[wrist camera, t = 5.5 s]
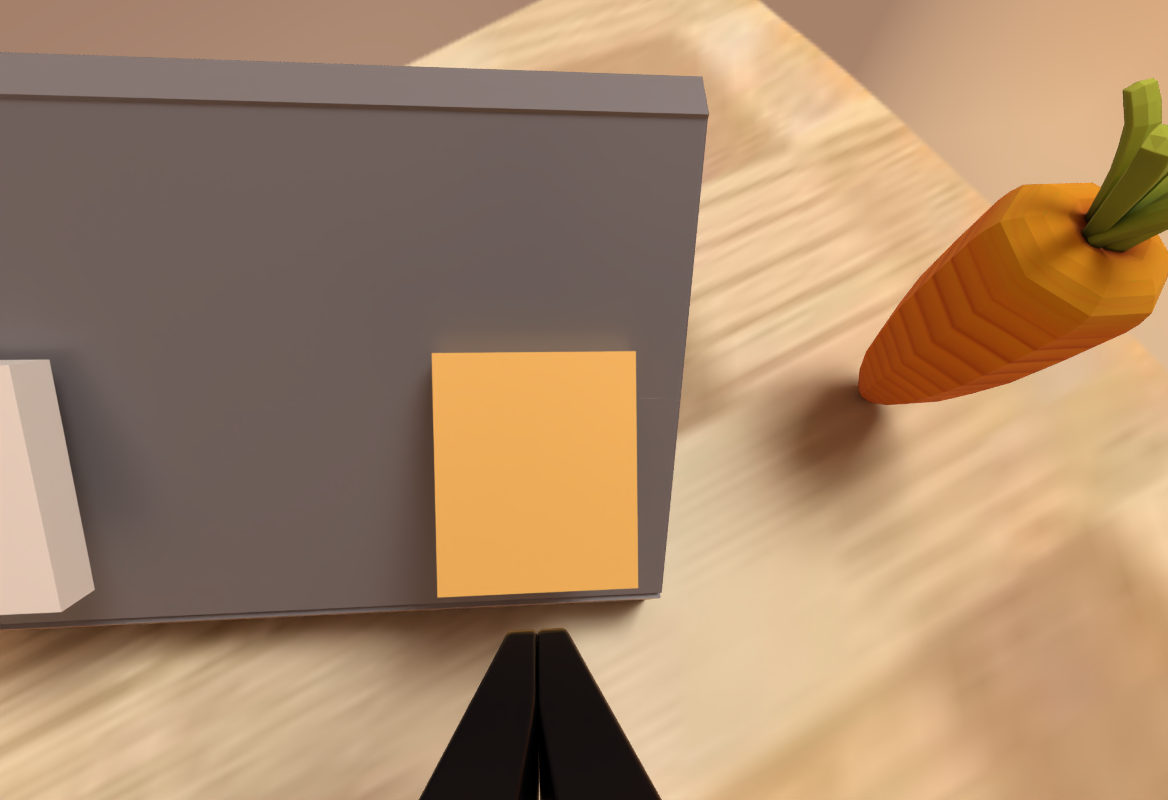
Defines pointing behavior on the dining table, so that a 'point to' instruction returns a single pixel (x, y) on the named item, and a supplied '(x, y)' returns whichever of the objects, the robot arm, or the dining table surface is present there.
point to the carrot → (1035, 277)
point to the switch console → (323, 305)
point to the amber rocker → (535, 472)
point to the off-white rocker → (37, 498)
